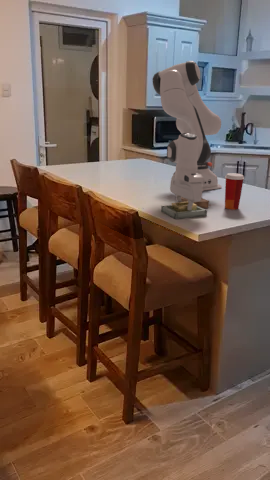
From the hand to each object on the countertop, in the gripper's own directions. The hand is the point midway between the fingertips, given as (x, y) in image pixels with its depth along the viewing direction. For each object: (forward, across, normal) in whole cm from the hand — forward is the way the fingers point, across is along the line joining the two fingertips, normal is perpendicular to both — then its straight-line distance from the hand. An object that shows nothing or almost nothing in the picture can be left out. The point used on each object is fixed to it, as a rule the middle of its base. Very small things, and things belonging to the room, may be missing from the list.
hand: (184, 207), depth 181 cm
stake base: (+3, -11, +11) cm, 16 cm away
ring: (+1, 0, 0) cm, 1 cm away
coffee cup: (+3, -2, +26) cm, 26 cm away
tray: (+3, 0, 0) cm, 3 cm away
